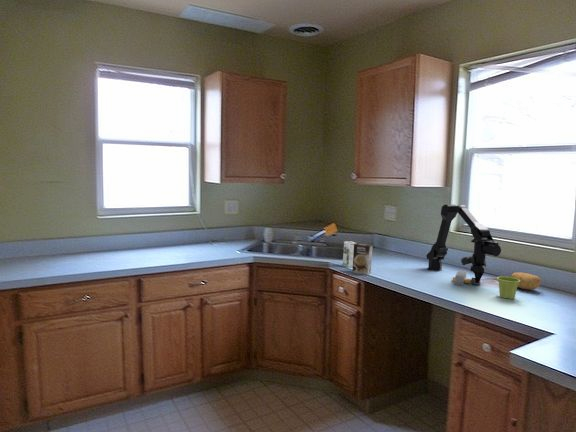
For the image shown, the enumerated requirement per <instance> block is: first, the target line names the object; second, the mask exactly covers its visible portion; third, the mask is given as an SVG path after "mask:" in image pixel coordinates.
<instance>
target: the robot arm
mask: <svg viewBox="0 0 576 432" xmlns="http://www.w3.org/2000/svg"><path fill="white" fill-rule="evenodd" d="M457 214H459V216H460V217H461V218H462V220H463V221H464V222H465V224H467V226H468V227H469V229H470V233H471V236H472V237H473V239H472V240H470V243H473V253H472V255H470V256H465V257H464V256H463V257H461V258H460V262H461V265H462V266H465V265H470V264H471V266H470V269H469V270H470V272H472V273H474V278H475V280H476V283H479V281H480V282H481V279H482V277H483V275H484V274H485V270H486V267H487V262H486V259H487V255H489V256H491V257H492V256H493V257H499V256H500V254H501V252H502V248H501V245H499V242H497V241H495V240H494V239H493V237H492V234H491V231H490V229H489V228H488V227H487V226H486V225H484V224H482V223H480V222H479V221H478V220H477V218H475V216H474V215H473V214H472V213H471V212H470V210H469V209H468V207H467V206H466V205H465V204H459V205H456V204H443V205H442V206H441V209H440V215H441V222H440V223H441V224H440V226H439V231H438V233H437V237H436V240H435V241H436V242H434V244H433V245H432V246H431V249H430V251H429V252H428V253H426V255H425V256H426V259H427V260H428V267H426V269H427V270H430V271H435V272H440V271H441V270H443V262H442V261H444V260H445V257H446V255H448V250H449V248H448V247H447V245H446V243H447V239H448V236H449V231H450V228H451V224H452V221H454V219H455V218H456V216H457Z"/></svg>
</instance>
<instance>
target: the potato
mask: <svg viewBox="0 0 576 432" xmlns="http://www.w3.org/2000/svg"><path fill="white" fill-rule="evenodd" d="M510 277H512V278H516V279H519V280H520V282H519V284H518V286H517V288H520V289H522V290H525V291H532V290H536V289H537V288H538V287H540V286H541V283H542V279H541V278H540V276H538V275H536V274H535V275H534V274H531V273H527V272H520V271H519V272H518V271H517V272H513V273H512V274H511V275H510Z"/></svg>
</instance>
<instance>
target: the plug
mask: <svg viewBox="0 0 576 432" xmlns="http://www.w3.org/2000/svg"><path fill="white" fill-rule="evenodd" d="M452 282H455V276H452ZM464 284H472V285H478V286H479V285H481V280H480V281H479V283H476V280H475V277H471V278H467V277H466V278H465V280H464Z"/></svg>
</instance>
